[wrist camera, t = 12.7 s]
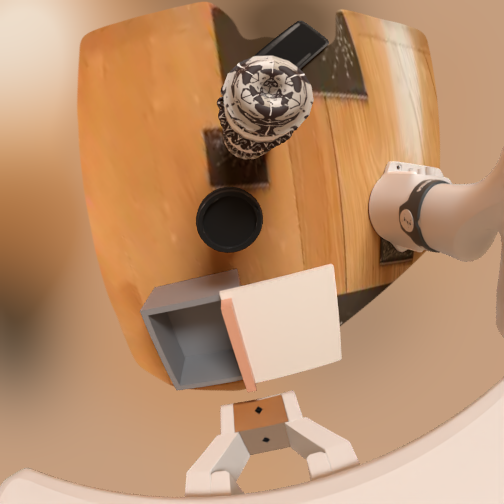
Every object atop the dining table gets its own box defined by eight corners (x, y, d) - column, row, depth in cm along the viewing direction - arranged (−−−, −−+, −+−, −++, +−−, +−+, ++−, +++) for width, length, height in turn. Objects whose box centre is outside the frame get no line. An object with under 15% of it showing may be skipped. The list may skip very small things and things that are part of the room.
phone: (250, 58, 39) (300, 19, 37) (250, 61, 40) (299, 21, 38) (284, 84, 41) (331, 42, 39) (283, 86, 42) (329, 44, 40)
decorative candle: (223, 108, 42) (221, 38, 18) (276, 114, 43) (324, 54, 19) (218, 159, 44) (208, 132, 20) (272, 163, 45) (320, 145, 21)
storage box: (237, 268, 49) (239, 289, 40) (256, 344, 54) (262, 375, 44) (154, 287, 49) (139, 310, 39) (182, 359, 53) (176, 390, 43)
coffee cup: (261, 219, 47) (277, 236, 33) (219, 242, 48) (216, 269, 33) (238, 177, 45) (244, 174, 31) (195, 201, 46) (181, 209, 31)
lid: (331, 263, 40) (341, 272, 36) (339, 356, 44) (347, 369, 41) (219, 291, 39) (218, 302, 35) (247, 381, 44) (249, 396, 40)
